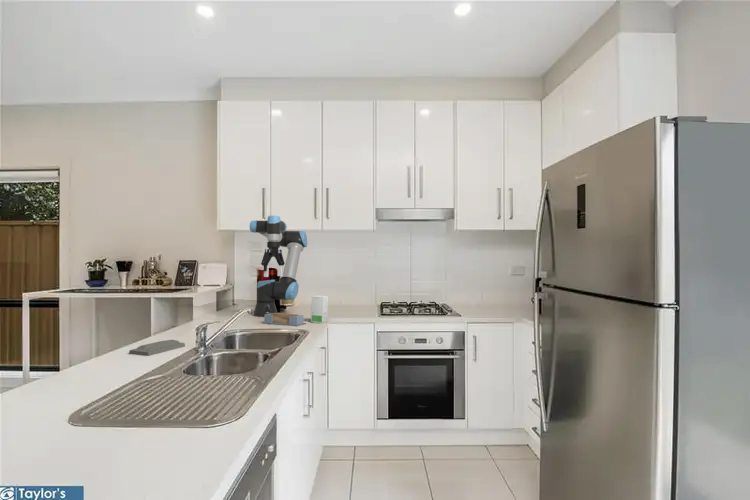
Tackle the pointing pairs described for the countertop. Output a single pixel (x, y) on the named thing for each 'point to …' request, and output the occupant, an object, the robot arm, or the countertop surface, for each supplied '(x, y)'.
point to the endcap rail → (292, 322)
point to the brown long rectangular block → (281, 317)
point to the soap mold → (157, 347)
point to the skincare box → (319, 309)
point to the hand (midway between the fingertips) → (273, 276)
